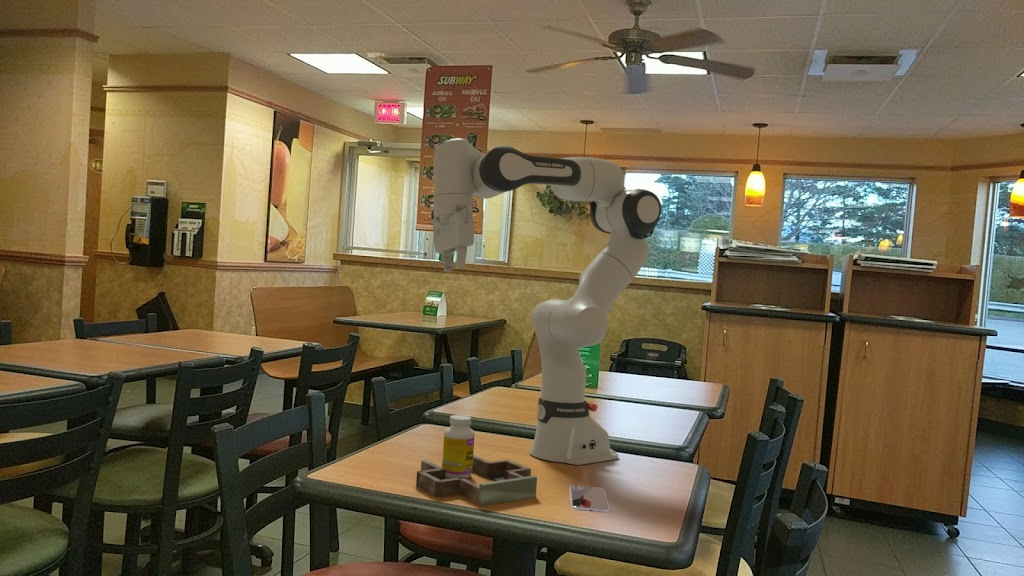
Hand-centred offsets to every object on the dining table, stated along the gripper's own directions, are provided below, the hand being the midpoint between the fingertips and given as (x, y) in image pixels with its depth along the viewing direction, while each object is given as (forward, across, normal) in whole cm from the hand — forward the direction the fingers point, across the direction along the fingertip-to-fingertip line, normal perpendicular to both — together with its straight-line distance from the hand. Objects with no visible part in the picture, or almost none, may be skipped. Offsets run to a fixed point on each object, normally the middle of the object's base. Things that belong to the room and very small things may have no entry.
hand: (454, 269), depth 165 cm
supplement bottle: (+46, -5, +2) cm, 46 cm away
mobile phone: (+49, -24, -21) cm, 59 cm away
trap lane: (+46, -12, 0) cm, 48 cm away
